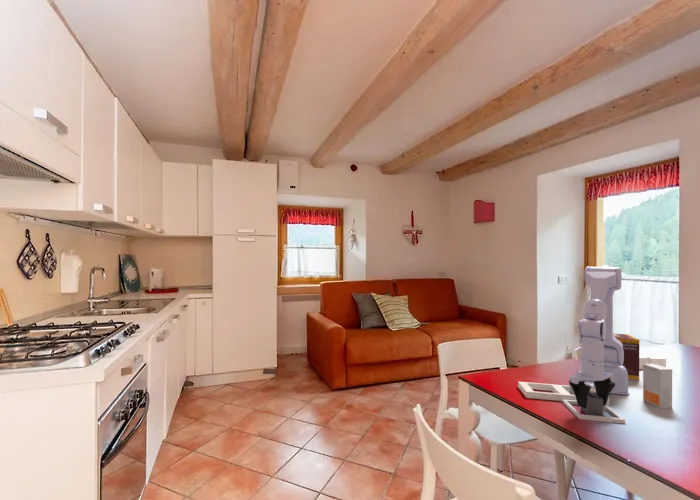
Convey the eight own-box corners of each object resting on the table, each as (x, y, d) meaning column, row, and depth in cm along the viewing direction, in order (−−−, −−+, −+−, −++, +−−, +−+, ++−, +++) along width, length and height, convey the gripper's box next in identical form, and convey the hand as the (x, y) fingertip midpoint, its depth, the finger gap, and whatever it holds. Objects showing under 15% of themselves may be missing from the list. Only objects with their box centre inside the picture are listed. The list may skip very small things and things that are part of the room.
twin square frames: (593, 393, 118) (593, 387, 118) (608, 405, 109) (608, 398, 109) (518, 387, 123) (518, 381, 123) (526, 397, 113) (526, 391, 114)
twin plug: (582, 395, 117) (582, 377, 117) (589, 400, 112) (589, 382, 112) (569, 394, 117) (569, 376, 118) (575, 399, 113) (575, 380, 113)
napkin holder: (668, 369, 149) (668, 356, 149) (674, 376, 139) (674, 362, 140) (624, 363, 157) (624, 350, 157) (626, 369, 148) (626, 356, 148)
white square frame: (603, 406, 108) (603, 403, 108) (625, 423, 97) (625, 419, 97) (562, 402, 110) (562, 399, 110) (579, 418, 99) (579, 415, 99)
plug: (595, 410, 105) (595, 390, 105) (603, 416, 101) (603, 395, 101) (580, 408, 106) (581, 389, 106) (587, 415, 102) (587, 394, 102)
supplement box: (640, 380, 133) (640, 339, 133) (592, 375, 138) (593, 335, 139) (629, 372, 143) (629, 334, 143) (585, 367, 148) (585, 330, 148)
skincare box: (642, 400, 113) (642, 363, 114) (654, 400, 114) (654, 363, 114) (660, 408, 107) (660, 369, 108) (673, 408, 108) (673, 369, 108)
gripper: (597, 354, 110) (597, 398, 109) (561, 357, 106) (561, 402, 105) (620, 361, 103) (620, 407, 102) (582, 364, 99) (582, 412, 98)
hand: (591, 405), depth 103 cm, fingers open, 7 cm apart
